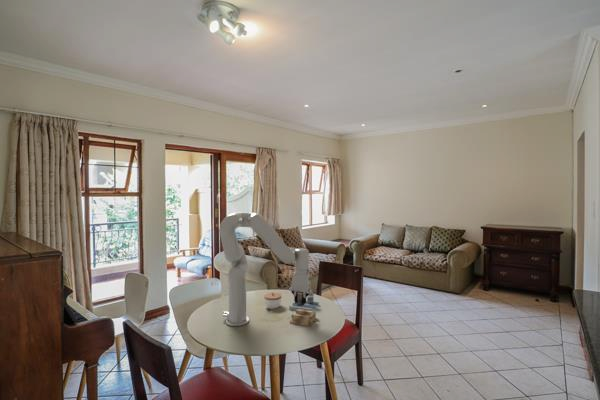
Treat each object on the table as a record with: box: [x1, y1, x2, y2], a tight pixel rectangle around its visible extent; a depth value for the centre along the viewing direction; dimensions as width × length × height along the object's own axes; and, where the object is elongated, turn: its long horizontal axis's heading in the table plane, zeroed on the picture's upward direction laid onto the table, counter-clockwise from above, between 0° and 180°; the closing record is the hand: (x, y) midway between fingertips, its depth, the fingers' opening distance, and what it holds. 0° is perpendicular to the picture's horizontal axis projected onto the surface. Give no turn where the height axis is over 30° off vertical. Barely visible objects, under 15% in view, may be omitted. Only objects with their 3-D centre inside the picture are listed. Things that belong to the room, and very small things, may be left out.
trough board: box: [288, 299, 320, 312], centre depth 182 cm, size 16×13×3 cm
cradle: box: [289, 309, 317, 327], centre depth 164 cm, size 12×10×4 cm
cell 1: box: [297, 291, 303, 306], centre depth 165 cm, size 4×4×8 cm
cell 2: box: [306, 293, 315, 305], centre depth 184 cm, size 4×4×8 cm
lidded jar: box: [263, 292, 282, 310], centre depth 184 cm, size 11×11×9 cm
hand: (300, 303), depth 165 cm, fingers closed on cell 1, 3 cm apart
